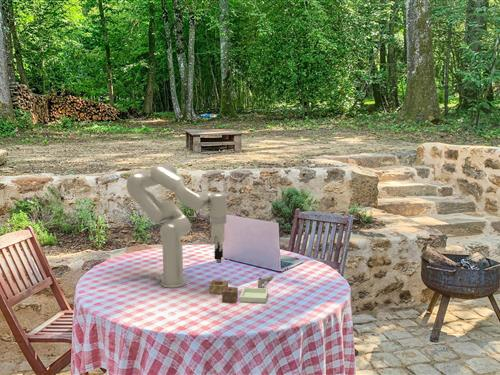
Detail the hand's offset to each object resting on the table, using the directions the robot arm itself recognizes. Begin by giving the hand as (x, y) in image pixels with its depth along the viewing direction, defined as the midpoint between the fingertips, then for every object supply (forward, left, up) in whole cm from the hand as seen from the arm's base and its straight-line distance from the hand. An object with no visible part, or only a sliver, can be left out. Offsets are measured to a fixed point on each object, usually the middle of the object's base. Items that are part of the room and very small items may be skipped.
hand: (218, 257), depth 231 cm
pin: (0, 0, -2) cm, 2 cm away
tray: (+17, -6, -16) cm, 25 cm away
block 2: (+7, -10, -16) cm, 20 cm away
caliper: (+21, +13, -17) cm, 30 cm away
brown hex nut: (0, 0, -16) cm, 16 cm away
